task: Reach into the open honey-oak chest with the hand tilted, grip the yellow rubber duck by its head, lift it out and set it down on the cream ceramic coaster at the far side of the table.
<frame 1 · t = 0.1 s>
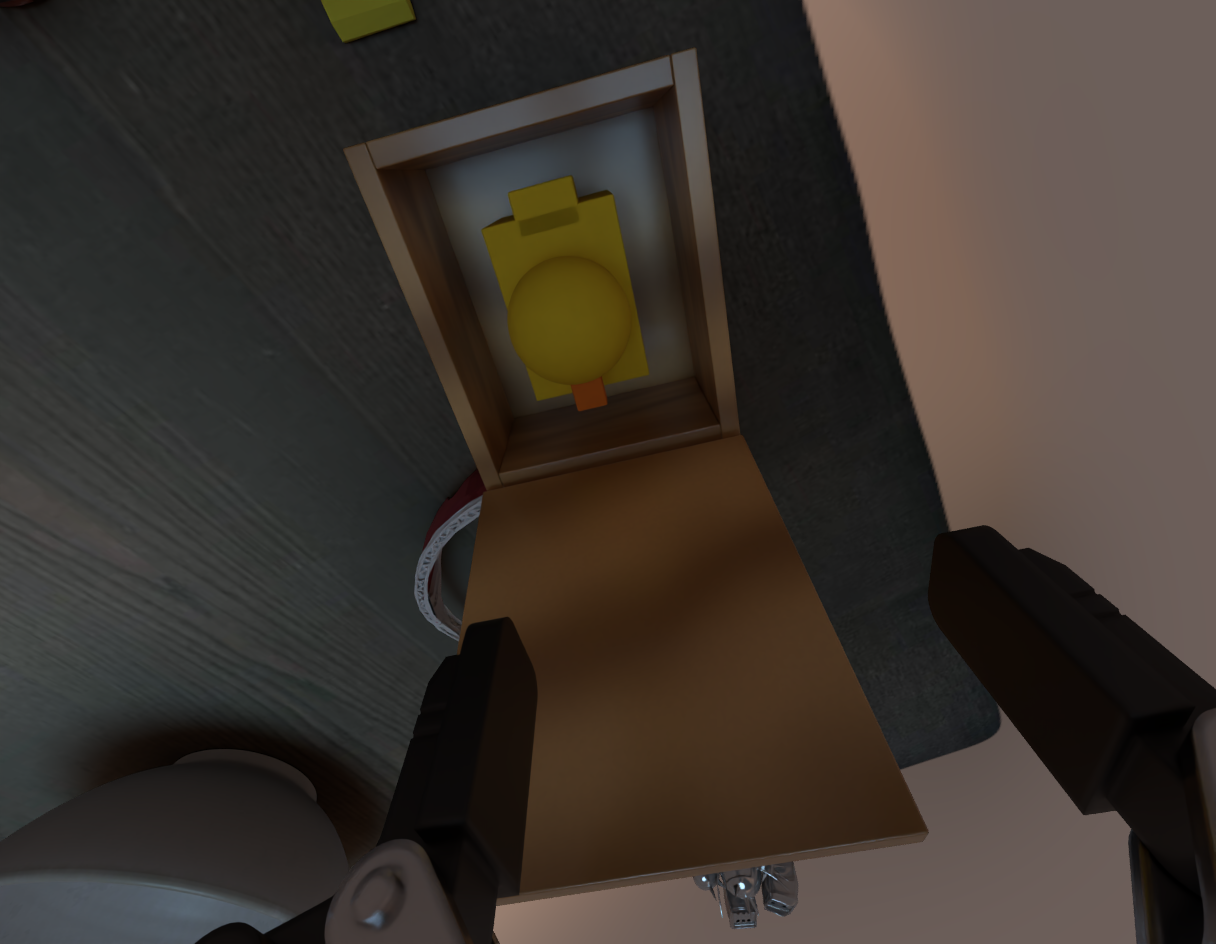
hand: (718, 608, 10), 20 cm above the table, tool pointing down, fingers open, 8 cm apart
robot toy: (712, 670, 41), on the table
chest: (574, 280, 25), on the table
decorative bowl: (246, 785, 46), on the table
sunglasses: (564, 546, 34), on the table
duck: (574, 283, 25), point 1 cm above the table, touching chest
lid: (639, 638, 18), point 14 cm above the table, hinge at 100.0°
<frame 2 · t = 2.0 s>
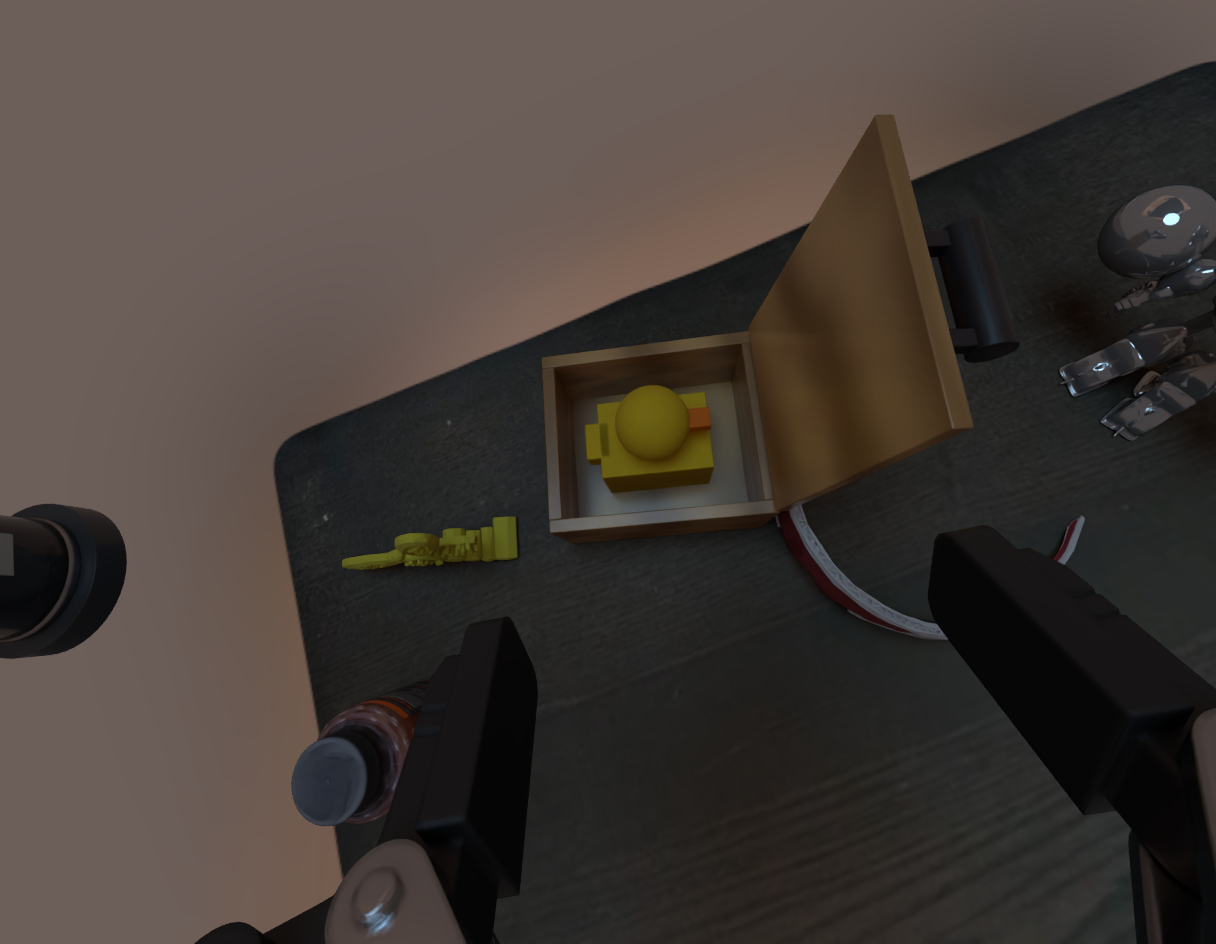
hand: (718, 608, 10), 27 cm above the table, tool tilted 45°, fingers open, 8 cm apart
supplement bottle: (434, 722, 36), on the table
robot toy: (1098, 370, 36), on the table
decorative insect: (440, 547, 39), on the table
chest: (657, 457, 38), on the table
sunglasses: (896, 504, 35), on the table
duck: (656, 455, 37), point 1 cm above the table, touching chest
lid: (861, 357, 24), point 14 cm above the table, hinge at 100.0°
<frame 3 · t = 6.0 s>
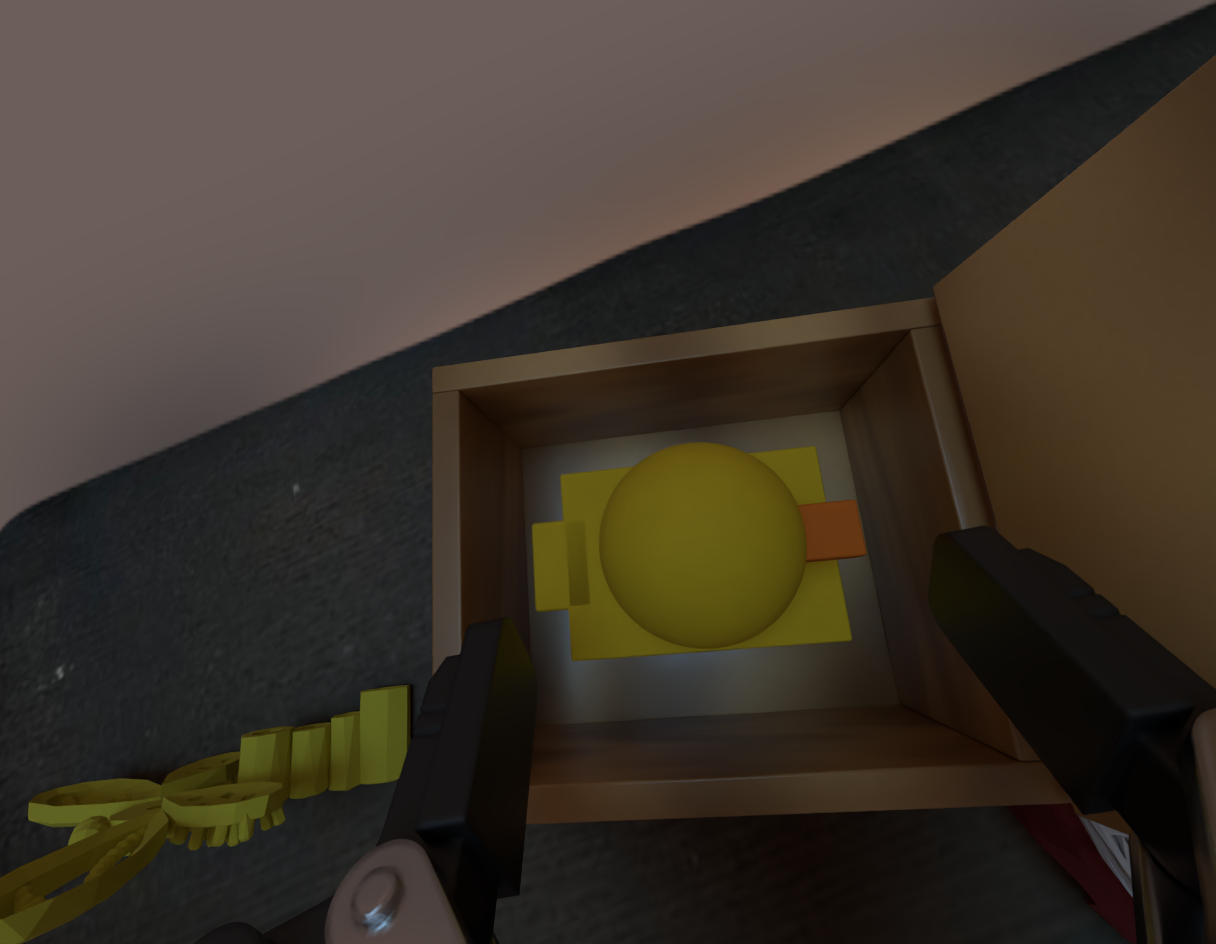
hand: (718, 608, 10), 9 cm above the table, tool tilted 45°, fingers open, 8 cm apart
decorative insect: (265, 741, 20), on the table
chest: (690, 564, 19), on the table
duck: (691, 563, 18), point 1 cm above the table, touching chest
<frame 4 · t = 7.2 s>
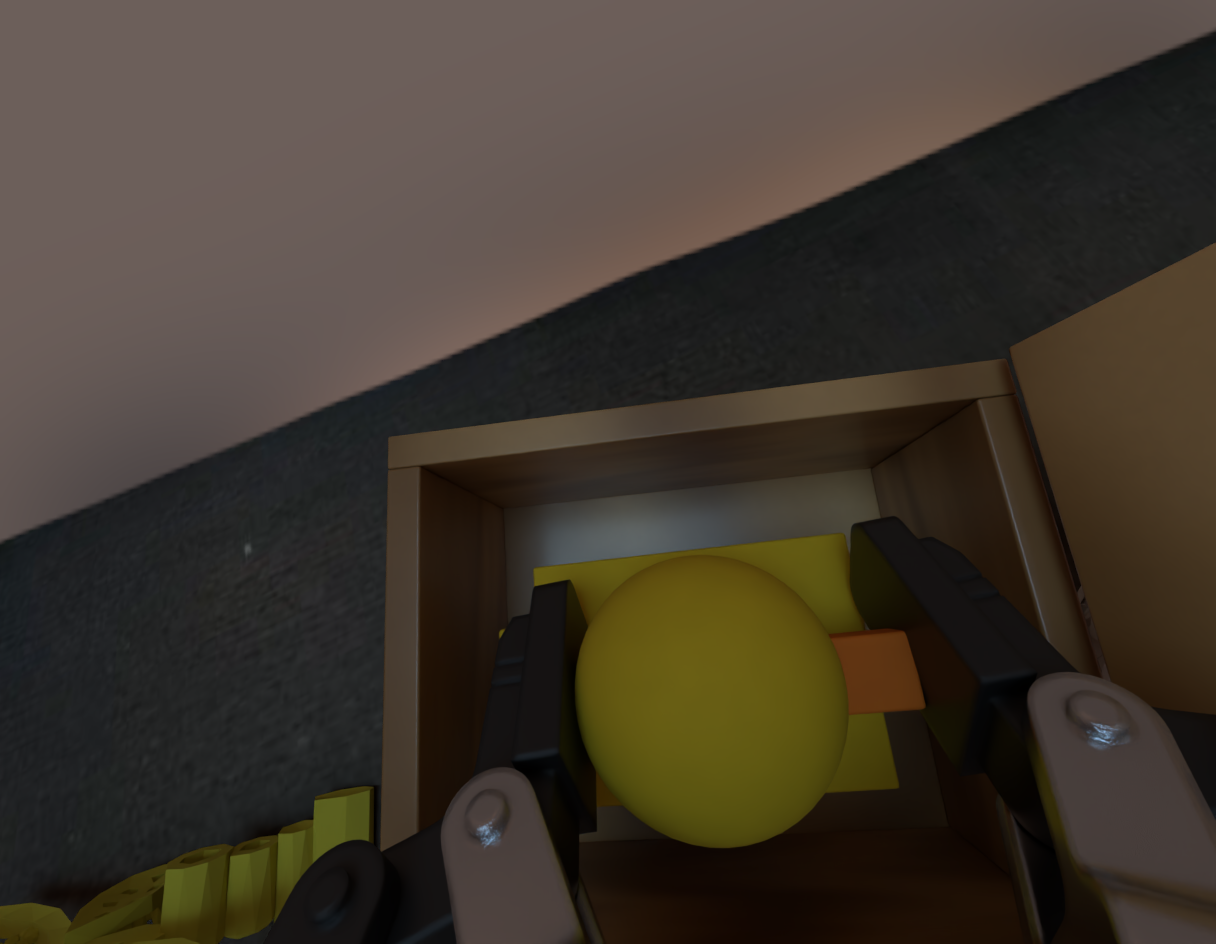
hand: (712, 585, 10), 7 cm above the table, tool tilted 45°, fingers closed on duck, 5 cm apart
decorative insect: (206, 850, 17), on the table
chest: (698, 646, 16), on the table
duck: (693, 646, 16), point 1 cm above the table, touching chest, gripper
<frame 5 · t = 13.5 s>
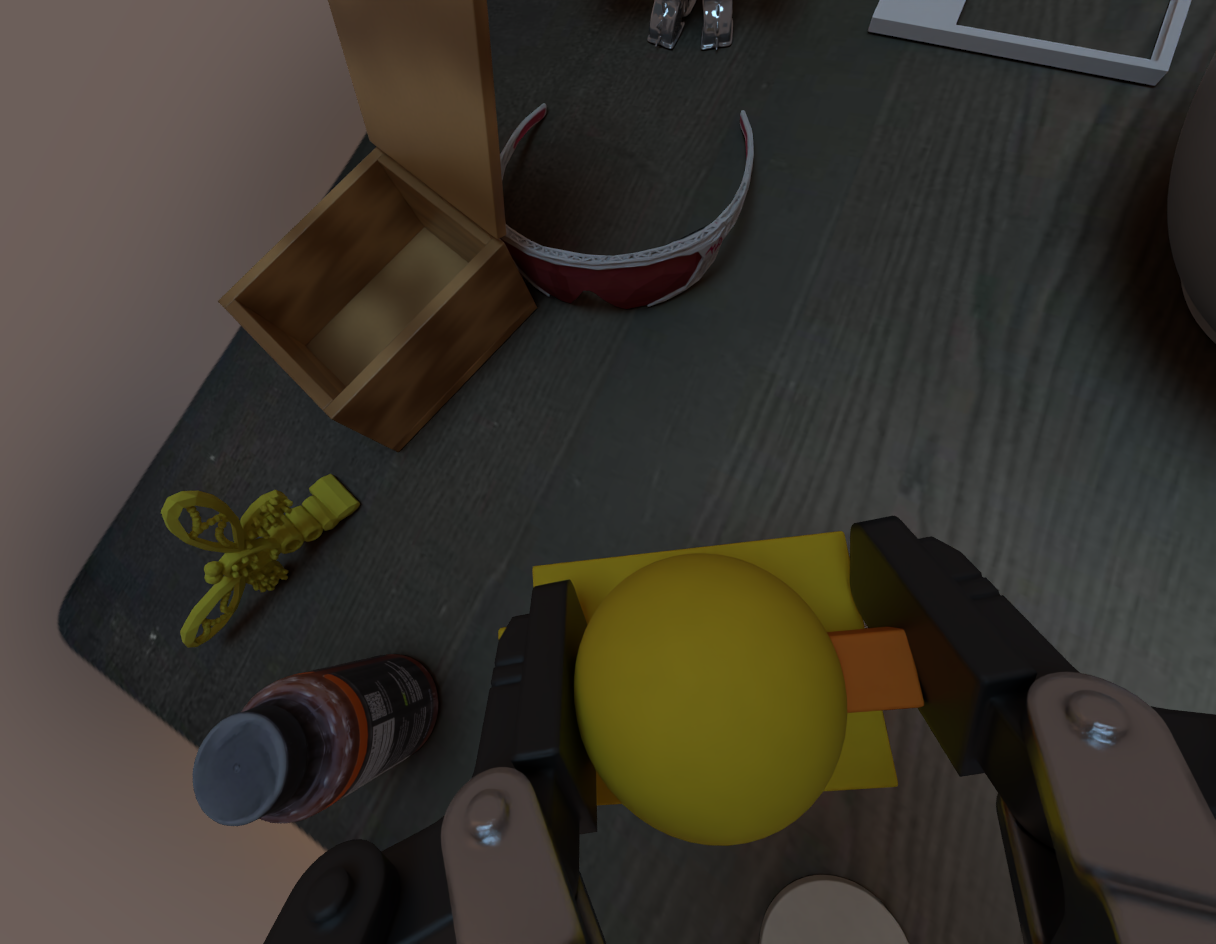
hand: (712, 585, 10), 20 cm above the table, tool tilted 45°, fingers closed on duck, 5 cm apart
supplement bottle: (397, 704, 31), on the table
robot toy: (673, 22, 40), on the table
decorative insect: (286, 560, 34), on the table
chest: (415, 330, 36), on the table
sunglasses: (619, 210, 36), on the table
duck: (693, 645, 16), point 14 cm above the table, touching gripper
lid: (438, 24, 24), point 13 cm above the table, hinge at 110.1°
when the fingers open (7 cm above the table, at t = 19.9 s): duck stays where it is, resting on coaster.
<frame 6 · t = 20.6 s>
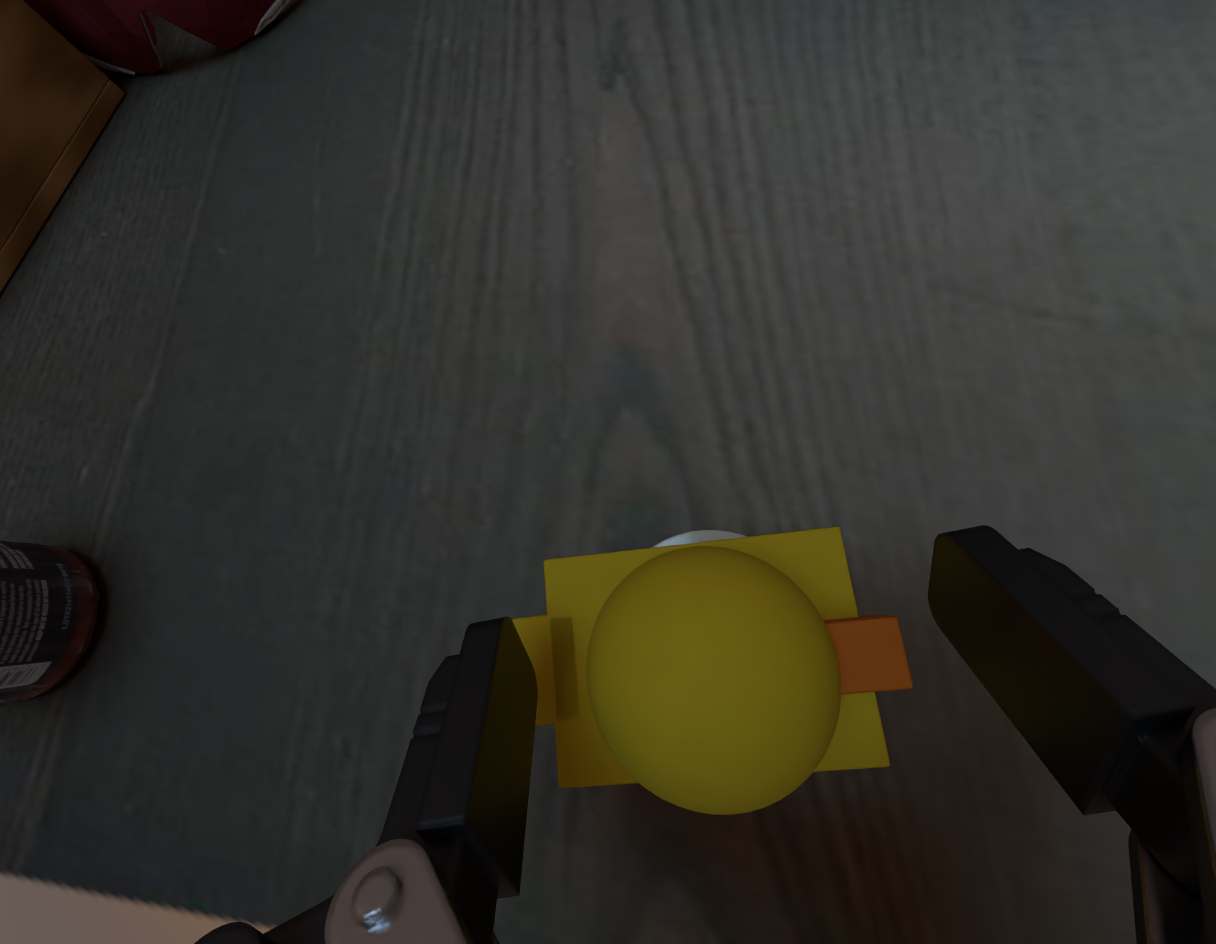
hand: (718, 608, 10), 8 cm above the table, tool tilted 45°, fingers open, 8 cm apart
supplement bottle: (48, 621, 20), on the table
coaster: (711, 638, 17), on the table
duck: (695, 637, 16), point 1 cm above the table, touching coaster
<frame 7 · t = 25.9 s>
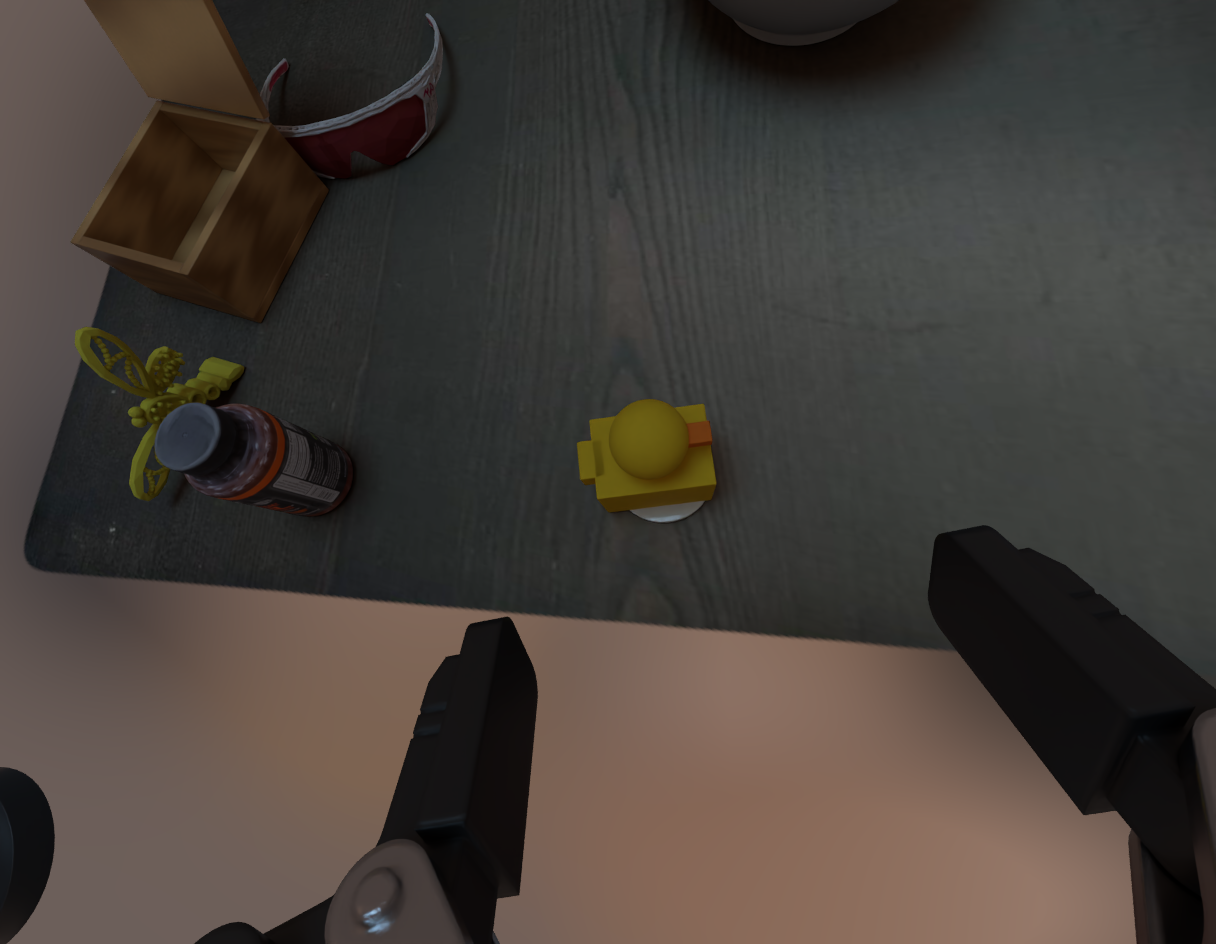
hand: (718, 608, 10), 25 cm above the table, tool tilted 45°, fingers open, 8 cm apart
supplement bottle: (322, 480, 39), on the table
decorative insect: (201, 431, 42), on the table
chest: (243, 241, 46), on the table
coaster: (662, 473, 36), on the table
sunglasses: (366, 108, 48), on the table
duck: (654, 470, 35), point 1 cm above the table, touching coaster
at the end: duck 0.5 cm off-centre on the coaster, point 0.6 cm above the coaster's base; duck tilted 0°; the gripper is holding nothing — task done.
